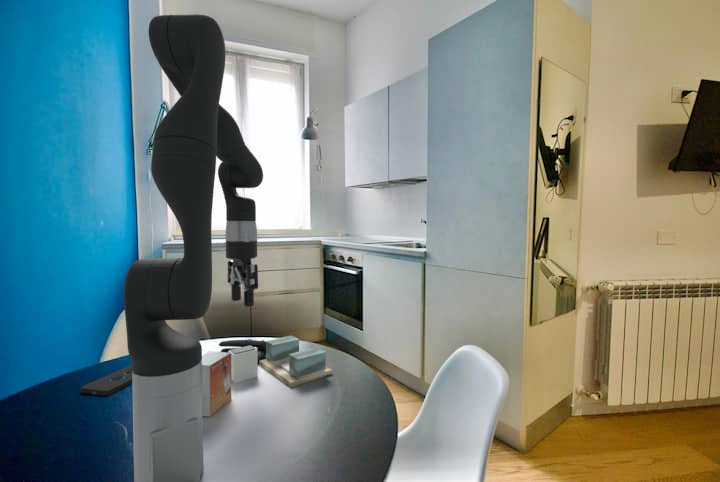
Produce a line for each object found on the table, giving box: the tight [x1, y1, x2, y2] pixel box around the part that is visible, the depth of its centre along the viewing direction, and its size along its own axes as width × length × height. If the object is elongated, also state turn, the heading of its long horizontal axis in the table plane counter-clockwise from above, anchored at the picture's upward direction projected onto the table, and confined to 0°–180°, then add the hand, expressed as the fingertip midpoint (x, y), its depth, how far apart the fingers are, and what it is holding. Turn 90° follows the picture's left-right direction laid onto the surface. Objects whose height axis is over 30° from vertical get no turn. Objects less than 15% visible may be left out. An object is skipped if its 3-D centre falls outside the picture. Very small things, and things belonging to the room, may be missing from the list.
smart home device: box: [80, 364, 132, 397], centre depth 89 cm, size 8×2×20 cm
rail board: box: [259, 335, 333, 388], centre depth 93 cm, size 18×12×6 cm, turn 40°
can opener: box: [218, 338, 267, 362], centre depth 103 cm, size 18×7×6 cm, turn 67°
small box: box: [202, 350, 232, 418], centre depth 73 cm, size 8×6×10 cm
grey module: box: [228, 345, 259, 384], centre depth 88 cm, size 4×6×7 cm, turn 130°
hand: (242, 303), depth 88 cm, fingers open, 8 cm apart
